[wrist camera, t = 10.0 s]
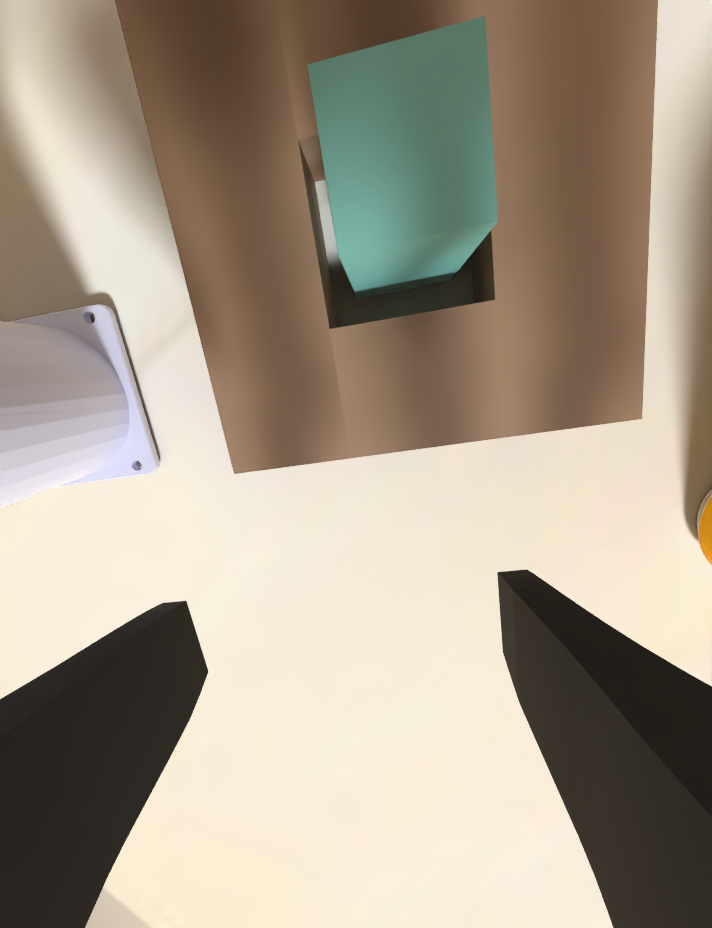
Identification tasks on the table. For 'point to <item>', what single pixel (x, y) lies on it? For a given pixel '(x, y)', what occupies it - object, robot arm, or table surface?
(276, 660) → the table surface
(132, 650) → the robot arm
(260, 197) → the holder block
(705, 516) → the beer can
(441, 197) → the teal peg
